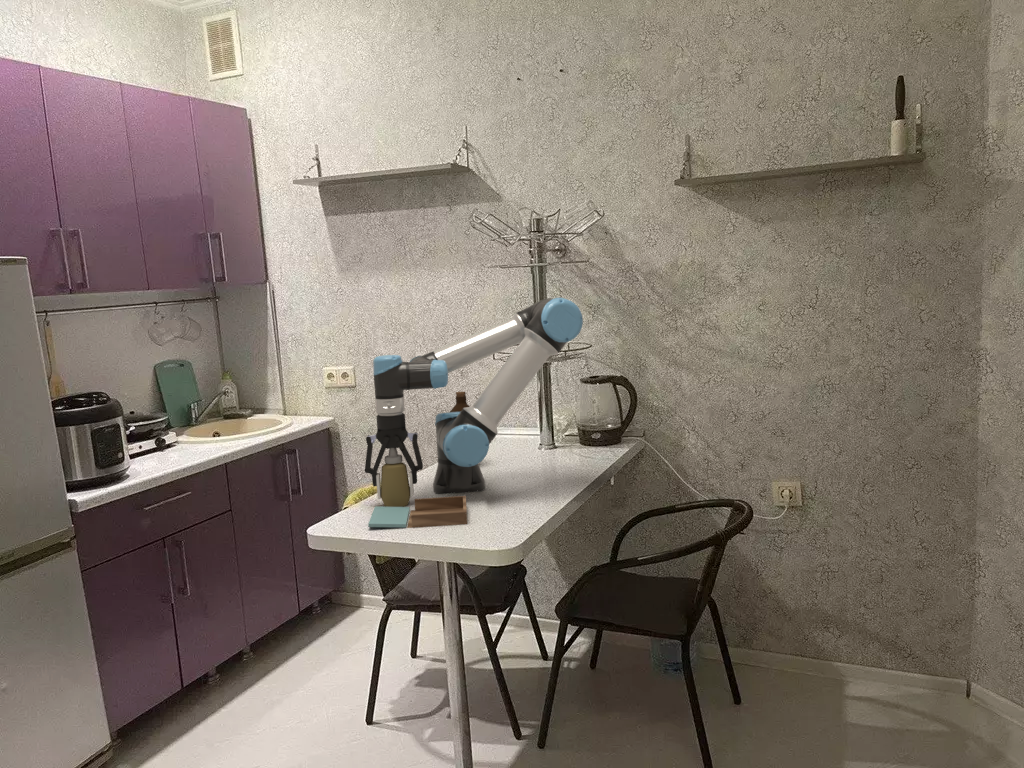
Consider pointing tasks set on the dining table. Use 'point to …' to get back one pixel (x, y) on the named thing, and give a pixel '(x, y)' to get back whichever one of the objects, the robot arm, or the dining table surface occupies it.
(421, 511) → the crate
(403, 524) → the panel
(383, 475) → the squeeze bottle
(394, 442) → the robot arm
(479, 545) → the dining table surface
